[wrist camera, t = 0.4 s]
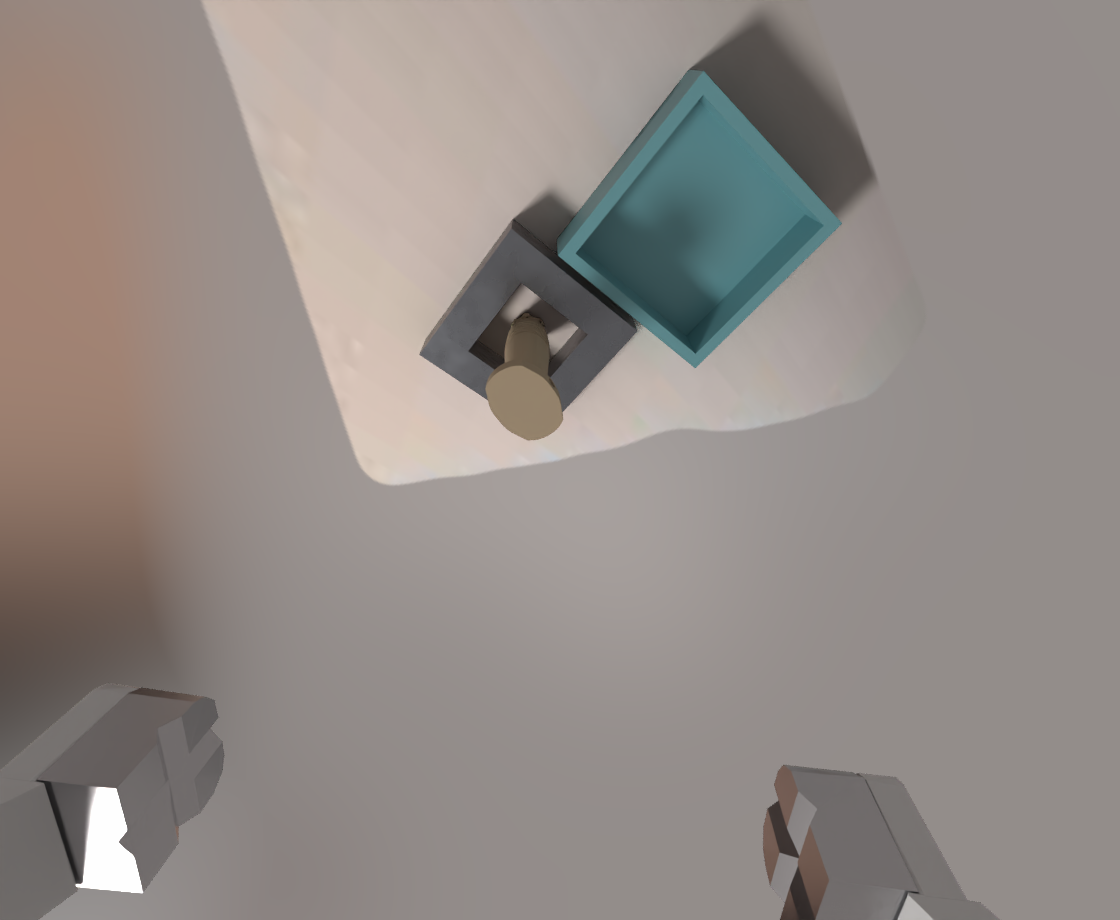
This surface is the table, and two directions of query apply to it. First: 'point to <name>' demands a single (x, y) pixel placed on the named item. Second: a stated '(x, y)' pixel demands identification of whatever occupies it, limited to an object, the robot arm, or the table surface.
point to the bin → (695, 222)
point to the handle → (525, 383)
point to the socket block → (551, 281)
